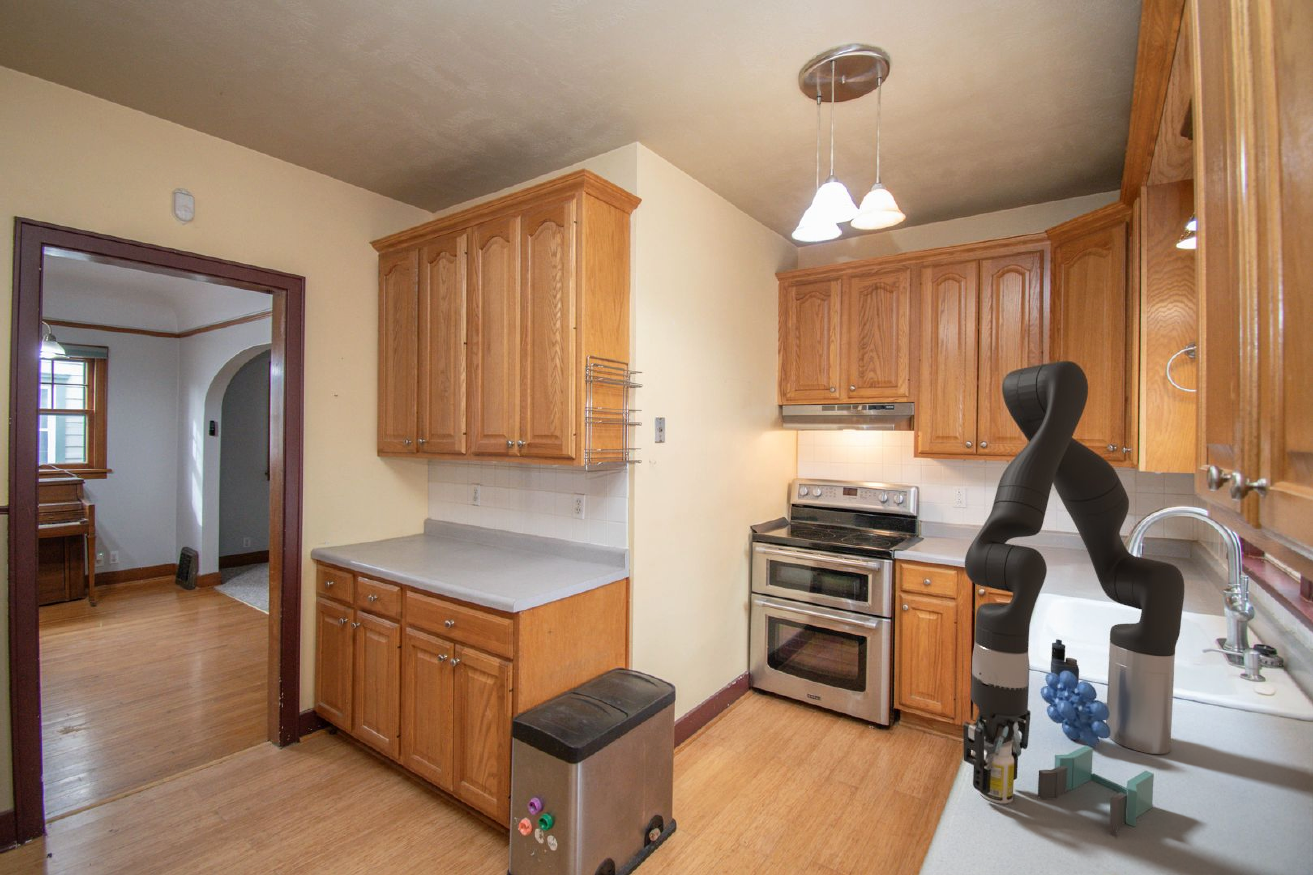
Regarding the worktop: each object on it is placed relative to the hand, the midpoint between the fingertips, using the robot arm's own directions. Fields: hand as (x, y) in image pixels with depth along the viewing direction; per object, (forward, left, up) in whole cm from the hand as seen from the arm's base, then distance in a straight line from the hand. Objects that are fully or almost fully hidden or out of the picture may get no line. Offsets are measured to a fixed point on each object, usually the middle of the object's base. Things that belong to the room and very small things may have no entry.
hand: (995, 783), depth 92 cm
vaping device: (-48, -13, -2) cm, 50 cm away
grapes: (-29, -3, -2) cm, 29 cm away
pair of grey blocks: (-8, +9, -2) cm, 12 cm away
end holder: (-16, +8, -2) cm, 18 cm away
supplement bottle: (0, 0, -2) cm, 2 cm away
